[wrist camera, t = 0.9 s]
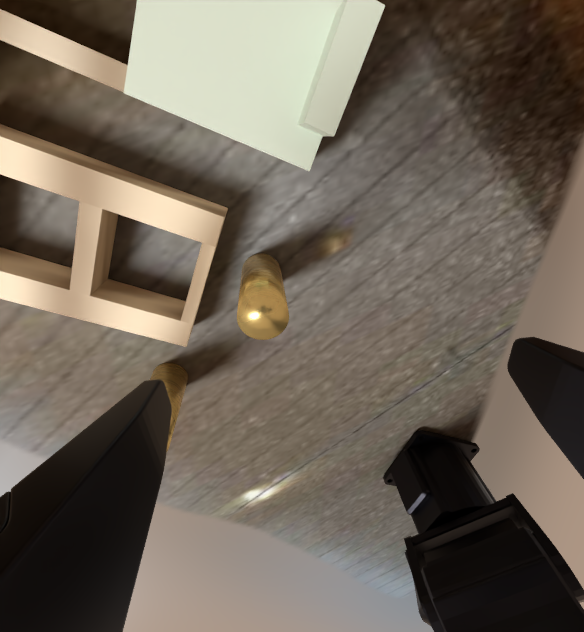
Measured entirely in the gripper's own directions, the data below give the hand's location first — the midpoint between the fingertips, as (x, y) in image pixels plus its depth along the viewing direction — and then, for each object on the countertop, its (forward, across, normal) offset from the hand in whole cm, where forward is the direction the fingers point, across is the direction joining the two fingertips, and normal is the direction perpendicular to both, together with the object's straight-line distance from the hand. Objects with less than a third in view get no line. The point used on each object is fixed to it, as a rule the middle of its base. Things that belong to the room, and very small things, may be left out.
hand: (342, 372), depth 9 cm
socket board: (+13, +11, -1) cm, 17 cm away
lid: (+11, +1, -9) cm, 14 cm away
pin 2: (+13, +2, +2) cm, 14 cm away
